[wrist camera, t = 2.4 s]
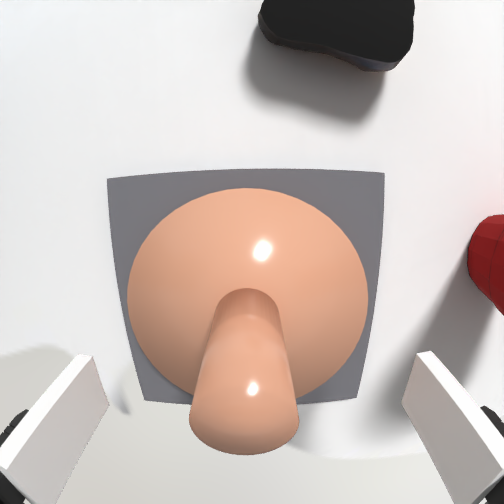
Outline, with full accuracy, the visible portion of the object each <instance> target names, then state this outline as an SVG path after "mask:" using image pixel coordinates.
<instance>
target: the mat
mask: <svg viewBox="0 0 504 504" xmlns="http://www.w3.org/2000/svg"><path fill="white" fill-rule="evenodd" d="M235 188H262V189H267V190H272V191H278V192H281V193H284V194H287V195H290V196H293V197H295V198H298V199H300V200H302V201H303V202H305V203H307V204H309V205H311V206H313V207H315V208H316V209H318V210H319V211H321V212H322V213H323V214H325V215H326V216H328V217H329V218H330V219H331V220H332V221H333V222H334V223H335V224H336V225H337V226H338V227H339V228H340V229H341V230H342V231H343V232H344V234H345V235H346V236H347V237H348V239H349V240H350V241H351V243H352V245H353V246H354V248H355V250H356V252H357V254H358V255H359V258H360V261H361V263H362V266H363V268H364V272H365V277H366V281H367V289H368V308H367V316H366V320H365V325H364V328H363V331H362V334H361V336H360V339H359V341H358V343H357V345H356V347H355V349H354V351H353V352H352V354H351V355H350V357H349V358H348V359H347V361H346V362H345V363H344V365H343V366H342V367H341V368H340V369H339V370H338V371H337V372H336V373H335V374H334V375H333V376H332V377H331V378H330V379H328V380H327V381H326V382H325V383H323V384H322V385H320V386H319V387H317V388H316V389H314V390H313V391H311V392H309V393H307V394H305V395H303V396H301V397H298V398H296V404H307V403H318V402H328V401H337V400H344V399H352V398H356V397H357V393H358V389H359V385H360V381H361V376H362V372H363V367H364V363H365V358H366V353H367V348H368V343H369V337H370V331H371V326H372V319H373V313H374V306H375V299H376V292H377V284H378V276H379V266H380V256H381V244H382V231H383V213H384V173H379V172H364V171H346V170H322V169H229V170H205V171H187V172H172V173H159V174H148V175H137V176H127V177H118V178H110V179H107V189H108V205H109V218H110V229H111V238H112V247H113V255H114V263H115V270H116V277H117V283H118V289H119V295H120V301H121V306H122V311H123V316H124V321H125V326H126V331H127V335H128V340H129V344H130V348H131V352H132V357H133V361H134V364H135V368H136V372H137V376H138V379H139V383H140V386H141V390H142V393H143V396H144V400H147V401H156V402H165V403H176V404H190V405H192V401H193V397H194V395H192V394H190V393H188V392H186V391H184V390H182V389H181V388H179V387H178V386H176V385H174V384H173V383H172V382H170V381H169V380H168V379H167V378H166V377H164V376H163V375H162V374H161V373H160V372H159V371H158V370H157V369H156V368H155V367H154V366H153V365H152V363H151V362H150V361H149V359H148V358H147V357H146V355H145V354H144V352H143V350H142V349H141V347H140V345H139V343H138V342H137V339H136V337H135V334H134V332H133V329H132V326H131V322H130V318H129V313H128V304H127V289H128V282H129V276H130V271H131V268H132V265H133V262H134V259H135V257H136V255H137V253H138V251H139V249H140V247H141V245H142V244H143V242H144V241H145V239H146V238H147V236H148V235H149V234H150V232H151V231H152V230H153V229H154V228H155V227H156V226H157V225H158V224H159V223H160V222H161V221H162V220H163V219H164V218H165V217H167V216H168V215H169V214H170V213H172V212H173V211H174V210H176V209H177V208H179V207H181V206H183V205H184V204H186V203H188V202H190V201H192V200H194V199H197V198H199V197H202V196H205V195H207V194H210V193H213V192H217V191H222V190H226V189H235Z"/></svg>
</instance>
